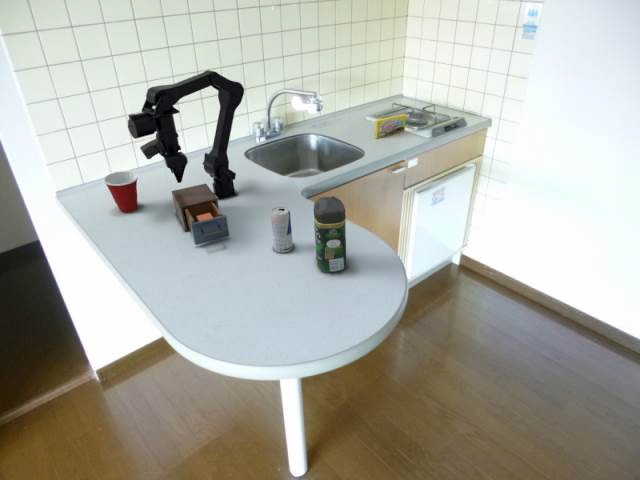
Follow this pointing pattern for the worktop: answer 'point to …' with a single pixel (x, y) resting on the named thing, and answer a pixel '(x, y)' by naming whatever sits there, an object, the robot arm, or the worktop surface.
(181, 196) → the cabinet
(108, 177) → the plastic cup
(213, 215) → the drawer
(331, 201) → the coffee jar
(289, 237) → the energy drink
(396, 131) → the candy box
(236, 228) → the worktop surface
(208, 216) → the block
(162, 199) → the worktop surface
